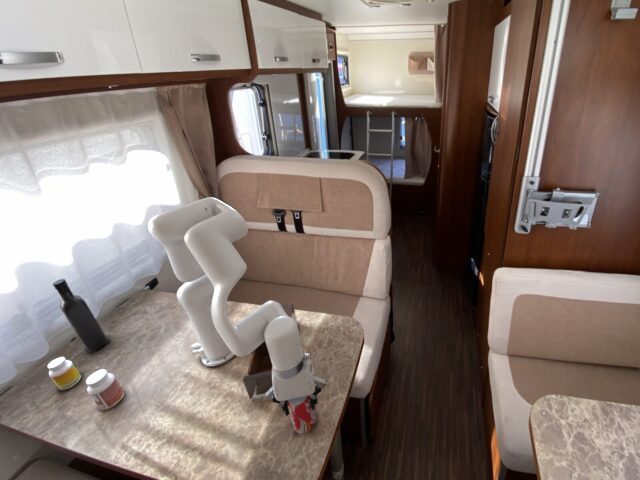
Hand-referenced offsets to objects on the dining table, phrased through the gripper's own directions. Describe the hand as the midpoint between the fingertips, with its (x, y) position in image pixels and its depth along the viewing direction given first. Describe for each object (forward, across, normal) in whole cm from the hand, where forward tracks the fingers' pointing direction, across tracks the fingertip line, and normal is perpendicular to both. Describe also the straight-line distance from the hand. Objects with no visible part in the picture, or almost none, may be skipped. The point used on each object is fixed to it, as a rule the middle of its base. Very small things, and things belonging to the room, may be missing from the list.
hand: (301, 406), depth 82 cm
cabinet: (+7, +11, -29) cm, 32 cm away
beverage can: (+7, 0, 0) cm, 7 cm away
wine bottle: (+7, +79, -45) cm, 91 cm away
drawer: (+6, +11, -15) cm, 19 cm away
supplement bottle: (+7, +78, -30) cm, 84 cm away
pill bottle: (+7, +60, -20) cm, 64 cm away
